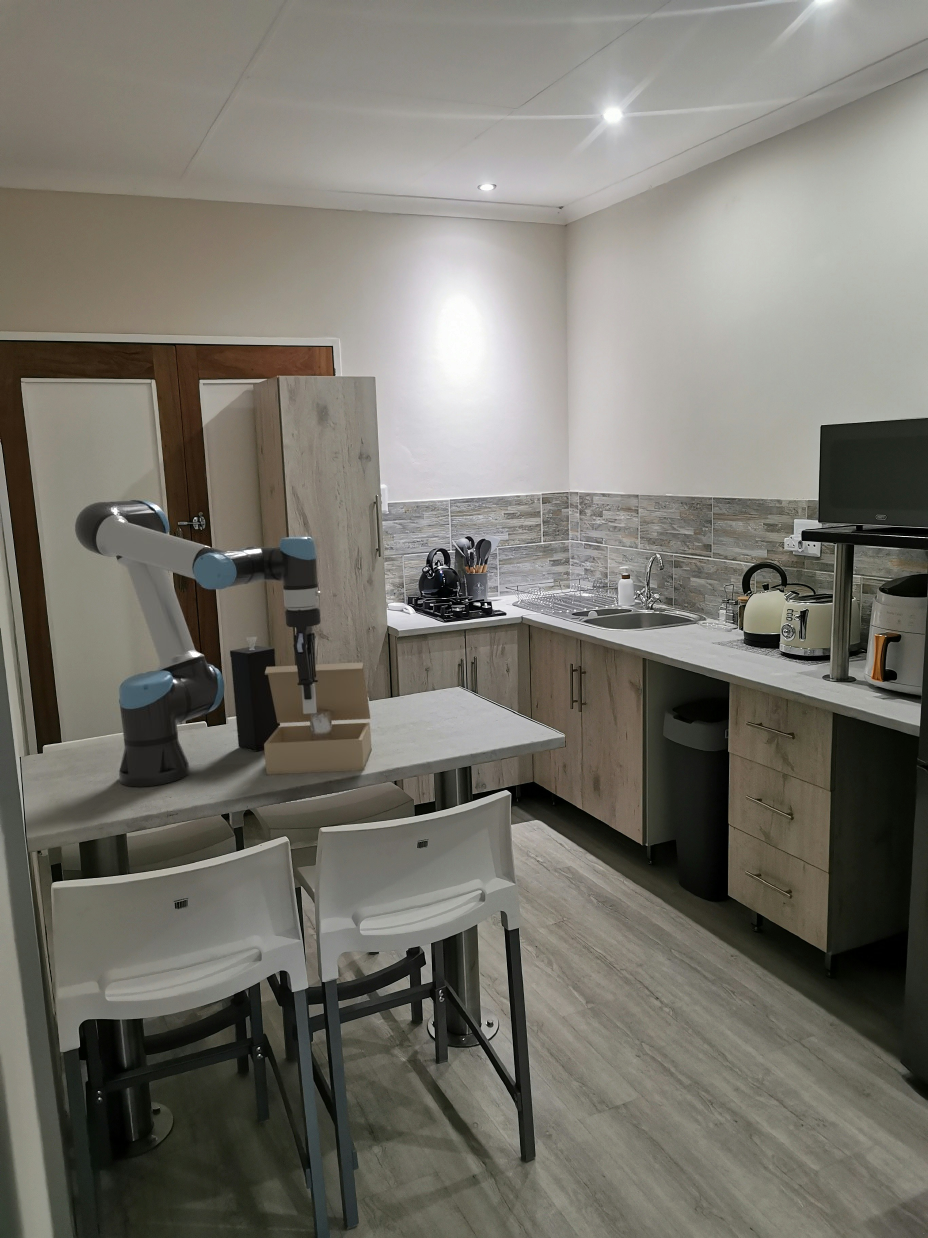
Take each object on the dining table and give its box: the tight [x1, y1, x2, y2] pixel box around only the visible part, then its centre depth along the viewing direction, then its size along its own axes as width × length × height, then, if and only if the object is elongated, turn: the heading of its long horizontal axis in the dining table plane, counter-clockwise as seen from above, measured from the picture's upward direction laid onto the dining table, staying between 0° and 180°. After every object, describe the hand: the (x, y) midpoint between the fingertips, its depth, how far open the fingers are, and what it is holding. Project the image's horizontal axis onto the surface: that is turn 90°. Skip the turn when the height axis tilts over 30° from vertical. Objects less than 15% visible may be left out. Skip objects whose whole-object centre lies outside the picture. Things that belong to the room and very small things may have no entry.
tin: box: [309, 710, 333, 741], centre depth 218 cm, size 5×5×10 cm
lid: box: [265, 661, 371, 724], centre depth 217 cm, size 22×16×3 cm
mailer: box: [263, 721, 373, 775], centre depth 215 cm, size 22×16×7 cm
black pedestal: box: [229, 636, 281, 752], centre depth 229 cm, size 8×8×28 cm
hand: (310, 712), depth 205 cm, fingers closed
